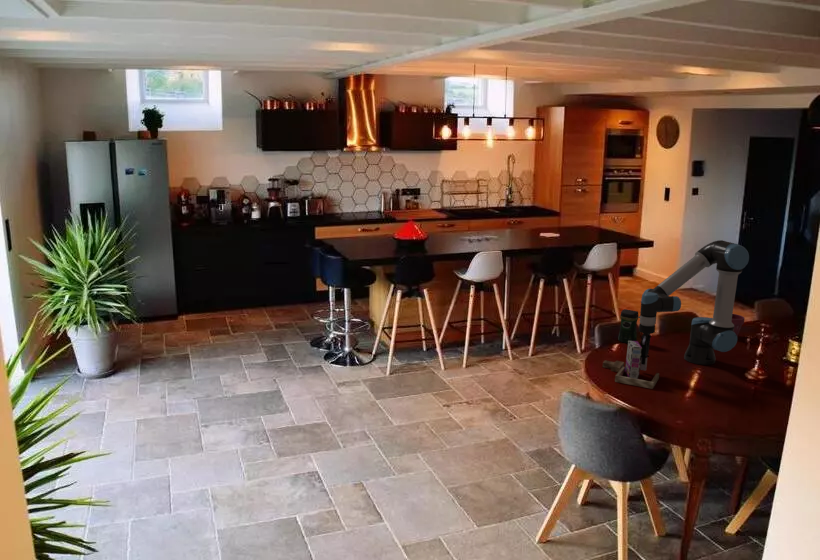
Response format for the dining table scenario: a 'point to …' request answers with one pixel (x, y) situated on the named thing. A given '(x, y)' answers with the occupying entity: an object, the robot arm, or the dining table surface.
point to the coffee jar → (628, 326)
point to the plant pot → (737, 322)
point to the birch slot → (635, 380)
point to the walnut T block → (613, 365)
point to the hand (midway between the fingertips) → (643, 369)
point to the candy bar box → (633, 359)
